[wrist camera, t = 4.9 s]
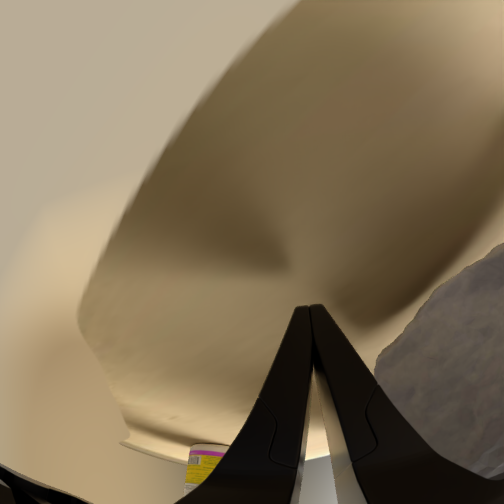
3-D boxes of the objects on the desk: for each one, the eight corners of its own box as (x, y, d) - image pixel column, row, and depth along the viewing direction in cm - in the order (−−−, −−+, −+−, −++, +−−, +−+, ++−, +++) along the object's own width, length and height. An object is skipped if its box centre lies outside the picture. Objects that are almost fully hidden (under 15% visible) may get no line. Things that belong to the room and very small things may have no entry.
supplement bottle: (247, 455, 29) (241, 539, 19) (197, 451, 29) (187, 532, 19) (243, 444, 25) (235, 546, 15) (184, 439, 25) (170, 536, 15)
